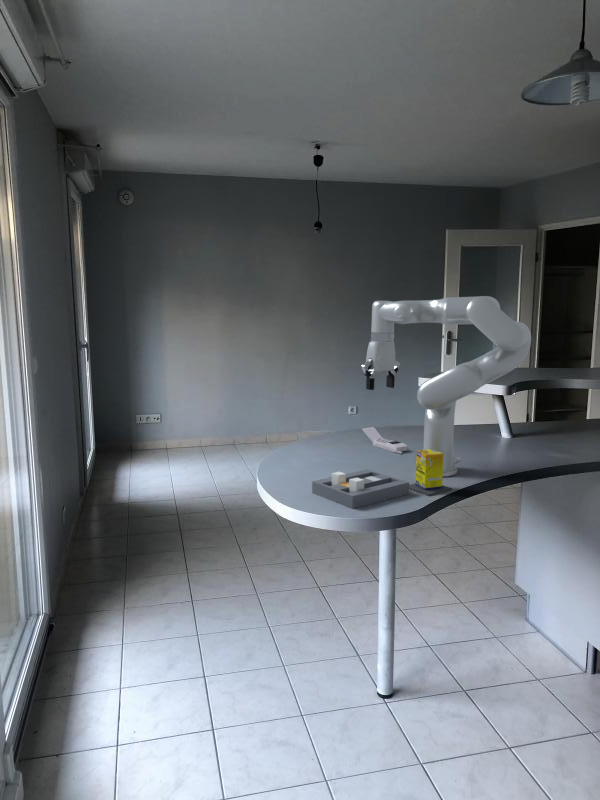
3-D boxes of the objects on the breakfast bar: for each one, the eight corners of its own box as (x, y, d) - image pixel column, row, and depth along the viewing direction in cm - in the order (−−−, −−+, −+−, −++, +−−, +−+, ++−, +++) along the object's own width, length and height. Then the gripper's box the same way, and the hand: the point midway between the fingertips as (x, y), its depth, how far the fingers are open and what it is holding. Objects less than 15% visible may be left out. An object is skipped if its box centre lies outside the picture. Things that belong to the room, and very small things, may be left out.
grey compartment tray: (367, 480, 198) (367, 469, 198) (408, 493, 184) (409, 481, 184) (312, 492, 185) (312, 481, 185) (352, 508, 171) (352, 495, 171)
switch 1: (339, 483, 187) (339, 471, 186) (345, 485, 184) (345, 473, 184) (331, 485, 185) (331, 473, 184) (338, 487, 183) (338, 475, 182)
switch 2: (356, 489, 180) (357, 477, 180) (364, 492, 178) (364, 479, 177) (349, 491, 179) (349, 479, 178) (356, 494, 176) (356, 481, 176)
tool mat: (426, 482, 196) (426, 480, 196) (451, 489, 188) (451, 487, 188) (403, 488, 190) (403, 486, 190) (428, 496, 182) (428, 494, 182)
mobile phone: (372, 426, 255) (412, 437, 233) (372, 440, 255) (412, 453, 234) (360, 428, 252) (399, 439, 230) (360, 442, 253) (399, 455, 231)
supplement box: (415, 485, 191) (415, 450, 189) (432, 483, 192) (433, 448, 191) (424, 490, 185) (425, 454, 183) (442, 488, 187) (443, 453, 185)
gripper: (391, 336, 218) (389, 385, 221) (355, 337, 208) (354, 389, 211) (408, 338, 213) (405, 388, 215) (371, 339, 202) (369, 392, 205)
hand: (380, 388), depth 213 cm, fingers open, 9 cm apart
